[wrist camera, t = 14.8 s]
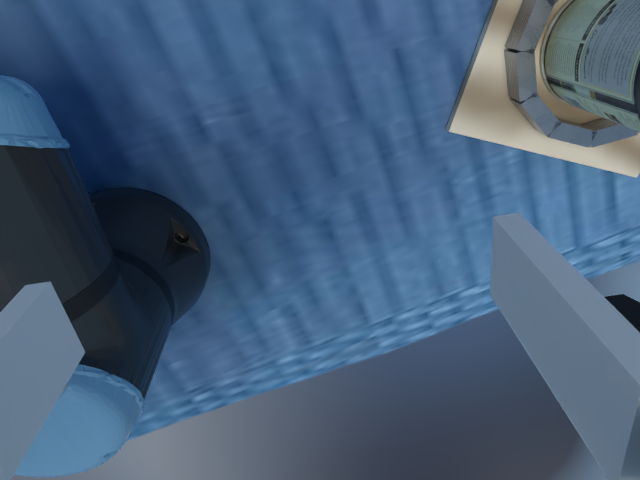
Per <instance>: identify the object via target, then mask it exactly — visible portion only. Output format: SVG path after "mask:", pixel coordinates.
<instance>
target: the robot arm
mask: <svg viewBox="0 0 640 480" xmlns="http://www.w3.org/2000/svg"><path fill="white" fill-rule="evenodd" d="M69 147H70V145H69V143H68V141H67V140H65V139H63V137H62V136H61V134H60V132H59V130H58V128H57V126H56V124H55V122H54V121H53V119H52V117H51V115H50V113H49V111H48V109H47V107H46V105H45V103H44V101H43V99H42V97H41V96H40V94H39V93H38V92H37V91H36V90H35V89H34V88H33V87H32V86H31V85H29V84H28V83H26V82H24V81H23V80H20V79H18V78H15V77H11V76H3V75H1V76H0V480H11V479H12V477H13V475H19V476H28V477H58V476H65V475H72V474H76V473H80V472H84V471H87V470H90V469H92V468H95V467H97V466H99V465H101V464H103V463H104V462H106V461H107V460H109V459H110V458H112V457H113V456H114V455H115V454H116V453H117V452H118V450H120V449H121V447H122V446H123V445H124V443H125V442H126V440H127V439H128V437H129V434H130V432H131V430H132V428H133V426H134V424H135V422H136V420H137V418H138V417H139V416H140V415H141V414H142V411H143V408H144V404H145V403H144V399H145V396H146V394H147V391H148V388H149V386H150V383H151V380H152V377H153V375H154V372H155V369H156V367H157V364H158V361H159V358H160V356H161V353H162V350H163V348H164V345H165V342H166V339H167V337H168V334H169V331H170V328H171V326H172V325H173V324H174V323H175V322H176V321H177V320H178V319H179V318H180V317H182V316H183V315H184V314H185V313H186V312H187V311H188V310H189V309H190V308H191V307H192V306H193V305H194V304H195V303H196V301H197V300H198V298H199V297H200V295H201V293H202V291H203V289H204V287H205V283H206V280H207V277H208V274H209V269H210V253H209V248H208V244H207V241H206V239H205V236H204V234H203V232H202V231H201V229H200V227H199V226H198V225H197V223H196V222H195V221H194V219H193V218H192V217H191V216H190V215H189V214H188V213H187V212H186V211H184V210H183V209H182V208H181V207H179V206H178V205H177V204H175V203H174V202H172V201H170V200H168V199H166V198H165V197H162V196H160V195H158V194H155V193H152V192H149V191H145V190H140V189H132V188H116V189H109V190H104V191H101V192H98V193H95V194H93V195H91V196H88V194H87V191H86V189H85V187H84V184H83V182H82V180H81V177H80V175H79V173H78V170H77V168H76V166H75V163H74V161H73V159H72V156H71V154H70V152H69V149H68V148H69ZM490 295H491V297H492V298H493V300H494V302H495V303H496V305H497V306H498V308H499V309H500V311H501V313H502V314H503V316H504V317H505V319H506V320H507V322H508V324H509V325H510V327H511V328H512V330H513V331H514V333H515V334H516V336H517V338H518V339H519V341H520V342H521V344H522V345H523V347H524V349H525V350H526V352H527V353H528V354H529V356H530V358H531V360H532V361H533V363H534V364H535V366H536V367H537V369H538V371H539V372H540V374H541V375H542V376H543V378H544V380H545V382H546V383H547V385H548V386H549V388H550V389H551V391H552V393H553V394H554V396H555V397H556V399H557V400H558V402H559V403H560V405H561V406H562V408H563V410H564V411H565V413H566V414H567V416H568V418H569V419H570V421H571V422H572V424H573V425H574V427H575V429H576V430H577V432H578V433H579V435H580V436H581V438H582V439H583V441H584V442H585V444H586V446H587V447H588V449H589V450H590V452H591V453H592V455H593V457H594V458H595V460H596V461H597V463H598V464H599V466H600V468H601V469H602V471H603V472H604V474H605V475H606V477H607V479H608V480H640V303H639V302H638V301H636V300H634V299H631V298H630V297H627V296H625V295H624V294H622V295H615V296H608V297H603V296H602V294H601V293H599V291H598V290H597V289H595V288H594V286H593V285H591V284H590V283H589V282H588V281H587V280H586V279H585V278H584V277H583V276H582V275H581V274H580V273H579V272H578V271H577V270H576V269H575V268H574V267H573V266H572V265H571V264H570V263H569V262H568V261H567V260H566V259H565V258H564V257H563V256H562V255H561V254H560V253H559V252H558V251H557V250H556V249H555V248H554V247H553V246H552V245H551V244H550V243H549V242H548V241H547V240H546V239H545V238H544V237H543V236H542V235H541V234H540V233H539V232H538V231H537V230H536V229H535V228H534V227H533V226H532V225H531V224H530V223H529V222H528V221H527V220H526V219H525V218H524V217H523V216H522V215H521V214H520V213H515V214H508V215H501V216H494V217H493V227H492V255H491V283H490Z"/></svg>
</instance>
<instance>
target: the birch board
mask: <svg viewBox="0 0 640 480" xmlns="http://www.w3.org/2000/svg"><path fill="white" fill-rule="evenodd" d="M522 1H523V0H493V3H492V6H491V8H490V11H489V14H488V16H487V19H486V22H485V24H484V27H483V30H482V33H481V35H480V38H479V41H478V43H477V46H476V49H475V51H474V54H473V57H472V60H471V62H470V65H469V68H468V70H467V73H466V76H465V78H464V81H463V84H462V86H461V89H460V92H459V95H458V97H457V100H456V103H455V105H454V108H453V111H452V113H451V116H450V119H449V121H448V124H447V127H446V129H447V130H448V131H449V132H453V133H457V134H461V135H465V136H469V137H473V138H477V139H481V140H485V141H489V142H494V143H498V144H502V145H506V146H510V147H514V148H518V149H522V150H526V151H530V152H534V153H538V154H543V155H547V156H551V157H555V158H559V159H563V160H567V161H571V162H575V163H579V164H583V165H588V166H592V167H596V168H600V169H604V170H608V171H612V172H616V173H620V174H624V175H628V176H632V177H637V176H638V174H639V173H640V133H639V132H638V135H636V136H632V137H629V138H625V139H622V140H618V141H614V142H611V143H607V144H604V145H600V146H596V147H593V148H592V147H589V148H588V147H584V146H580V145H576V144H572V143H568V142H564V141H560V140H556V139H552V138H549V137H547V136H545V135H543V134H542V133H540V132H538V131H537V130H535V129H534V128H533V127H532V126H531V125H530V123H529V122H528V121H527V120H526V118H525V117H524V116H523V115H522V114H521V112H520V111H519V110H518V109H517V107H516V106H515V105H514V104H513V103H512V101H511V100H510V99H509V98H511V97H509V96H508V89H507V78H506V67H505V57H504V50H506V49H509V48H508V47H504V46H505V44H506V41H507V39H508V36H509V34H510V31H511V29H512V26H513V24H514V21H515V19H516V16H517V14H518V11H519V9H520V6H521V3H522ZM567 1H568V0H559V1H558V2H557V3H556V4H555V5H554V7H553V9H552V11H551V14H550V16H549V19H548V21H547V23H546V26H545V28H544V30H543V33H542V35H541V37H540V40H539V42H538V44H537V47H536V49H535V65H536V81H537V94H538V95H539V96H540V98H541V99H542V100H543V101H544V103H545V104H546V105H547V107H548V108H549V109H550V110H551V112H552V113H553V114H554V115H555V117H556V118H559V119H563V120H567V121H570V122H574V123H578V124H581V123H585V122H588V121H592V120H595V119H599V118H602V117H601V116H599V115H596V114H593V113H591V112H589V111H586V110H583V109H581V108H579V107H576V106H572V105H569V104H566V103H564V102H562V101H560V100H559V99H557V98H556V97H555V96H554V95H553V94H552V93H551V92H549V89H548V88H547V87H546V85H545V83H544V80H543V78H542V74H541V69H540V51H541V47H542V43H543V39H544V36H545V33H546V31H547V29H548V27H549V25H550V23H551V21H552V19H553V18H554V16H555V15H556V14H557V12H558V11H559V10H560V9H561V7H562V6H563V5H564V4H565V3H566V2H567Z"/></svg>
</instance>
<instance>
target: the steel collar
mask: <svg viewBox="0 0 640 480" xmlns="http://www.w3.org/2000/svg"><path fill="white" fill-rule="evenodd" d="M558 1H559V0H523V1H522V3H521V6H520V9H519V11H518V14H517V16H516V19H515V21H514V24H513V26H512V29H511V31H510V34H509V36H508V39H507V41H506V44H505V46H504V47H508V48H509V49H506V50H504V57H505V67H506V78H507V89H508V96H509V97H511V98H509V99H510V100H511V101H512V103H513V104H514V105H515V106H516V107H517V109H518V110H519V111H520V112H521V114H522V115H523V116H524V117H525V118H526V120H527V121H528V122H529V123H530V125H531V126H532V127H533V128H534V129H535V130H537V131H538V132H540V133H542V134H543V135H545V136H547V137H549V138H552V139H556V140H560V141H564V142H568V143H572V144H576V145H580V146H584V147H588V148H589V147H592V148H593V147H596V146H600V145H604V144H607V143H611V142H614V141H618V140H622V139H625V138H629V137H632V136H636V135H638V131H636V130H633V129H631V128H628V127H626V126H624V125H621V124H619V123H616V122H614V121H611V120H609V119H606V118H604V117H602V118H599V119H595V120H592V121H588V122H585V123H581V124H578V123H574V122H570V121H567V120H563V119H559V118H556V117H555V115H554V114H553V113H552V112H551V110H550V109H549V108H548V107H547V105H546V104H545V103H544V101H543V100H542V99H541V98H540V96H539V95H538V94H537V81H536V65H535V49H536V47H537V44H538V42H539V40H540V37H541V35H542V33H543V30H544V28H545V26H546V23H547V21H548V19H549V16H550V14H551V11H552V9H553V7H554V5H555V4H556V3H557V2H558ZM639 133H640V132H639Z"/></svg>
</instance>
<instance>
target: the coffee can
mask: <svg viewBox="0 0 640 480" xmlns="http://www.w3.org/2000/svg"><path fill="white" fill-rule="evenodd" d="M540 69H541V74H542V78H543V80H544V83H545V85H546V87H547V88H548V89H549V92H551V93H552V94H553V95H554V96H555V97H556V98H557V99H559V100H560V101H562V102H564V103H566V104H569V105H572V106H576V107H579V108H581V109H583V110H586V111H589V112H591V113H593V114H596V115H599V116H601V117H604V118H606V119H609V120H611V121H614V122H616V123H619V124H621V125H624V126H626V127H628V128H631V129H633V130H636V131H638V132H640V0H568V1H567V2H566V3H565V4H564V5H563V6H562V7H561V9H560V10H559V11H558V12H557V14H556V15H555V16H554V18H553V19H552V21H551V23H550V25H549V27H548V29H547V31H546V33H545V36H544V39H543V43H542V47H541V51H540Z"/></svg>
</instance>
